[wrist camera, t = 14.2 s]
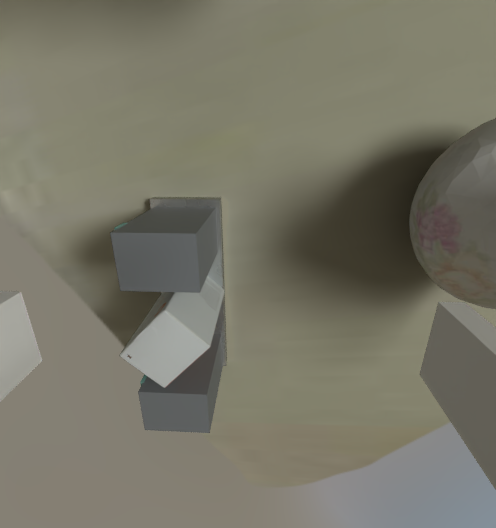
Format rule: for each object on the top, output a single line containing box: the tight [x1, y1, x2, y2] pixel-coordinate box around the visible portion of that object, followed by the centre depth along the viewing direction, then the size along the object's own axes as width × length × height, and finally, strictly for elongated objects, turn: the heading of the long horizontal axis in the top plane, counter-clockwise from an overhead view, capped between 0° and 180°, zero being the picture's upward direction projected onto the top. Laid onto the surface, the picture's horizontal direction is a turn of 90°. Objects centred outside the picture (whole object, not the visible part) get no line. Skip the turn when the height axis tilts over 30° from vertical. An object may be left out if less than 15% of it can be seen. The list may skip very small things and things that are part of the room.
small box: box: [120, 276, 225, 388], centre depth 38 cm, size 8×6×13 cm
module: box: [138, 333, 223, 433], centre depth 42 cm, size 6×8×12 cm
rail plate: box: [150, 197, 227, 366], centre depth 44 cm, size 26×9×2 cm, turn 0°
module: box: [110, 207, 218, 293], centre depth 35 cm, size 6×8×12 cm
